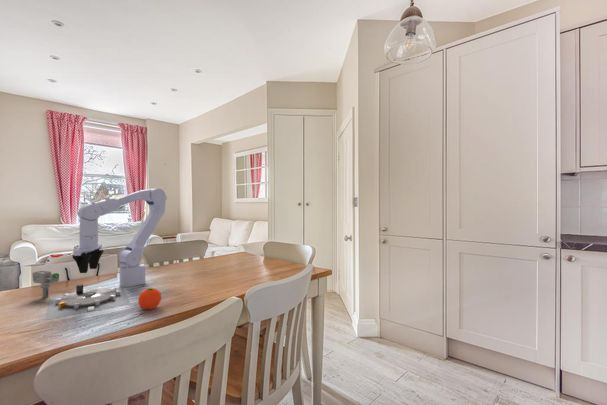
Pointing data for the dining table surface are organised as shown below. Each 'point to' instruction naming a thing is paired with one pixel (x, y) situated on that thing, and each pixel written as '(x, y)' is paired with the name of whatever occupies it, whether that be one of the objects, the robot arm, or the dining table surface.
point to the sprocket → (87, 297)
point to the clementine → (149, 298)
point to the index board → (67, 311)
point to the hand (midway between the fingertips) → (88, 270)
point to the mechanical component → (45, 280)
